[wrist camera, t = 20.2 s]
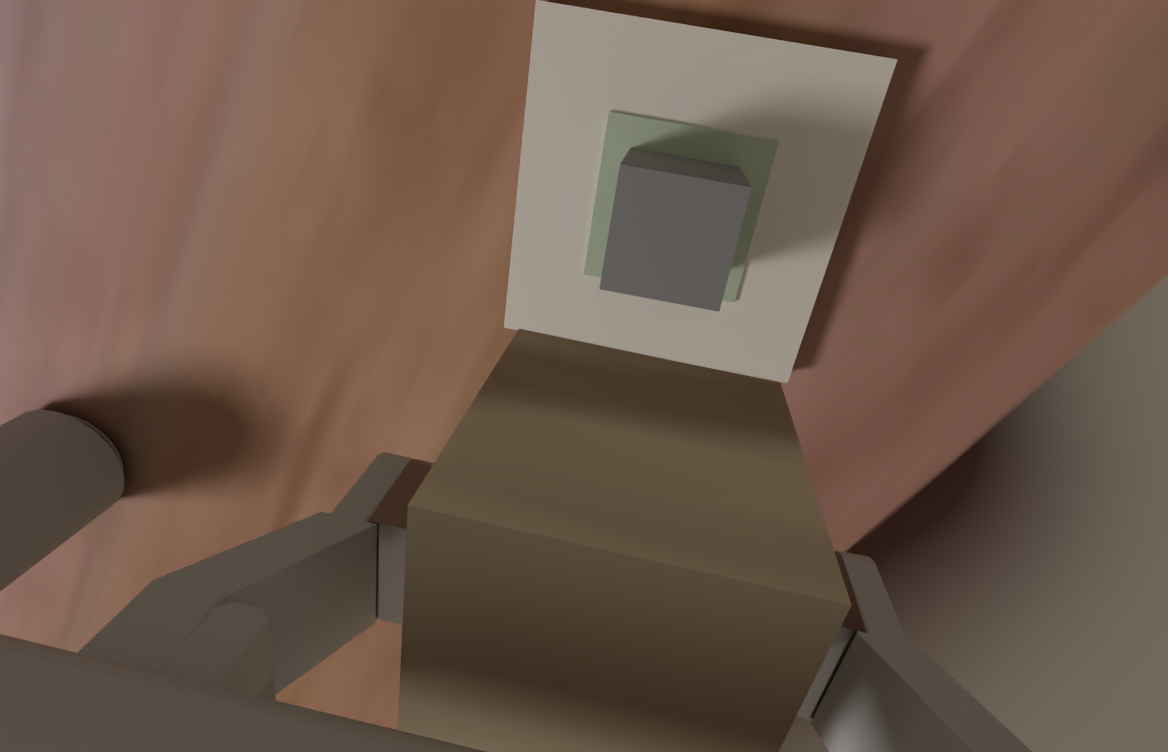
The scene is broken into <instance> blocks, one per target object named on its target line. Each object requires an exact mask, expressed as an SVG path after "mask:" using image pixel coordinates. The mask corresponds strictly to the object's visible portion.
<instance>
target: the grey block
mask: <svg viewBox="0 0 1168 752" xmlns="http://www.w3.org/2000/svg"><path fill="white" fill-rule="evenodd" d="M751 190H752V186H751V185H750V183H749V181H748V180H747V178H746V176H745V175H744V173H743V171H742V170H741V168H740V167H737V166H731V165H726V164H720V163H714V162H708V161H703V160H697V159H691V158H685V157H680V156H674V155H668V154H662V153H657V152H651V151H645V150H639V149H634V148H630V149H629V151H628V152H627V154H626V156H625V157H624V159H623V160H622V162H621V164H620V168H619V174H618V180H617V186H616V192H615V198H614V204H613V210H612V216H611V222H610V228H609V234H608V240H607V246H606V252H605V258H604V264H603V270H602V276H601V282H600V288H599V289H601V290H606V291H611V292H617V293H622V294H627V295H633V296H638V297H643V298H649V299H654V300H659V301H665V302H670V303H675V304H681V305H686V306H691V307H697V308H702V309H707V310H713V311H718V312H719V311H720V307H721V303H722V300H723V296H724V292H725V288H726V284H727V281H728V277H729V273H730V269H731V266H732V262H733V258H734V254H735V250H736V247H737V243H738V239H739V235H740V232H741V228H742V224H743V220H744V216H745V213H746V209H747V205H748V201H749V197H750V194H751Z"/></svg>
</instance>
